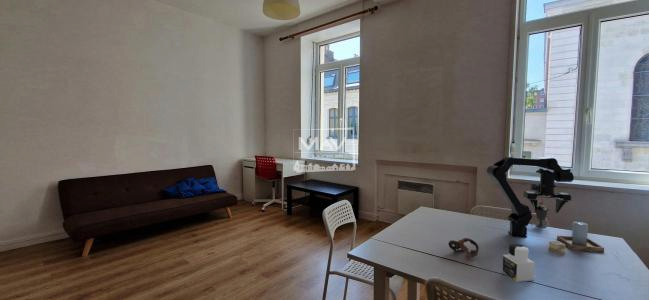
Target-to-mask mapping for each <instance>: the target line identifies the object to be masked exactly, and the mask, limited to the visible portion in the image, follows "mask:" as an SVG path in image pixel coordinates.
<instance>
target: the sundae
mask: <svg viewBox="0 0 649 300" xmlns="http://www.w3.org/2000/svg"><path fill="white" fill-rule="evenodd" d="M549 211H550V209H549V208H548V207H547V206H545V203H544V201H543V199H541V202H539V203H537V211H536V212H535V215H536V216H535V217H536V218H537V219H538V221H539V223H537V224H535V227H537V228H540V229H546V228H547V226H546V225H544V224H543V221H544V220H546V219H547V214H548V212H549Z"/></svg>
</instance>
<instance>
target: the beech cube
mask: <svg viewBox="0 0 649 300" xmlns="http://www.w3.org/2000/svg"><path fill="white" fill-rule="evenodd" d="M566 247H567V246H566V245H565V244H563V243H561V242H560V241H558V240H555V241H554V240H549V241H548V250H549V251H551V252H552V253H554V254H557V255H558V254H563V255H564V254H566Z"/></svg>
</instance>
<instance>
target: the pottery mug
mask: <svg viewBox="0 0 649 300" xmlns="http://www.w3.org/2000/svg"><path fill="white" fill-rule="evenodd" d="M467 242H469V243H470V244H471V245H473V246H475V248H476V249H472V250H471V249H470V251H469V248H468V247H467V246H466V245H465V244H464V243H467ZM448 247H449V248H450V249H451V250H452V251H453V252H454V253H457V250H462V251H463V252H464V253H466V254H465V257H466V258H470V259H471V258H474V257H476V256H478V253H479V250H480V248H479V245H478V243H477V242H476V241H475V240H473V239H471V238H468V237H464V238H462V239H459V240H458V241H456V240H454V239H453V240H449V241H448ZM459 248H461V249H459ZM456 249H457V250H456ZM466 258H465V259H466Z"/></svg>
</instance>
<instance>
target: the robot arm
mask: <svg viewBox="0 0 649 300" xmlns="http://www.w3.org/2000/svg"><path fill="white" fill-rule="evenodd" d="M512 166H527V167H538V169H537V170H535V174H540V177H539V179H540V180H539V182H538V185H537V184H533V183H532V184H530V191H527V190H526V191H525V190H524V192H523V193H522V196H523V197H524V198H525V199H526V200H529V202H530V204H531V205H532V207H533V211H534V213H536V211H537V205H538V199H537V198H548V199H550V198H551V199H552V198H553V199H555V211H554V212H555V214H559V212H560V210H562V207H564V205H565V204H566V203H569V201H572V195H571V194H570V193H567V192H556V193H555V188H556V187H557V185H556V183H555V182H557V183H572V182H573V181H574V178H575V176H574V174H573V172H572V171H571V170H572V169H571V168H568V167H567V168H566V167H565V168H562V167H561V166H560V164H559V162H558V160H557V159H556V158H555V157H548V156H540V157H534V158H533V157H531V158H530V157H517V156H516V157H514V156H505V157H503V158H502V159H501V160H499V161H497V162H495V163H493V164H492V165H489V166H488V167H487V169H486V173H487V175H488V176H489V177H490V179H492V180H493V181H495V183H496V184H497V185H498V187H499V188H500V190H501V192H502V193H503V195H504V197H505V198H506V200H507V202H508V203H509V204H510V206H511V207H510V209H511V210H510V211H511V213H510V214H509V215H508V216H507V218H508V221H509V230H508V231H507V232H508V233H509V234H510V235H511V236H512V237H519V238H528V236H527V235H528V226H529V224H530V221H531V220H532V218H533V215H532V214H533V212H532V211H531V210H530V207H529V206H528V205H526V204H524V203H522V202H521V201H520V200H519V198H518V197H517V195H516V193H515V191H514V190H513V188H512V187H511V185H510V183H509V182H508V181H507V179H508V178H507V174H506V173H507V172H508V171H509V170H510V168H511V167H512Z"/></svg>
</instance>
